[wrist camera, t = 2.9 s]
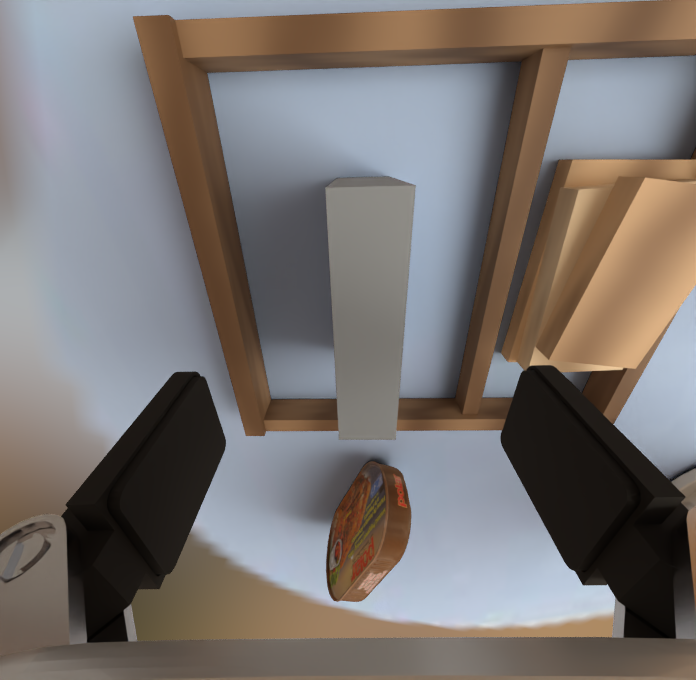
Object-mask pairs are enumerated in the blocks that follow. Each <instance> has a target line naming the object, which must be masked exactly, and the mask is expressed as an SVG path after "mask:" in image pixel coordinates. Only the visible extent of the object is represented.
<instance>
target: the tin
mask: <svg viewBox="0 0 696 680" xmlns="http://www.w3.org/2000/svg"><path fill="white" fill-rule="evenodd" d="M410 527H411V507H410V503H409V498H408V492H407V488H406V484H405V481H404V477H403V475H402V473H401V472H400V471H399V470H398V469H396V468H394V467H392V466H387V465H383V464H378V463H377V462H375V461H370V462H368V463H367V464H365V465H364V466H363V468H362V469H361V471H360V473H359V474H358V476H357V478H356V479H355V481H354V482H353V484H352V486H351V487H350V489H349V490H348V492H347V494H346V495H345V497H344V498H343V500H342V502H341V503H340V505H339V506H338V508H337V510H336V512H335V515H334V518H333V521H332V524H331V528H330V534H329V540H328V547H327V559H326V574H327V586H328V590H329V594H330V596H331V598H332V599H333V600H334V601H337V602H338V601H341V600H342V601H351V602H359V601H362V600H364V599H365V598H366V597H367V596H368V595H369V594H370V593H371V592H372V590H373V589H374V588H375V587H376V586H377V585H378V584H379V583H380V582H381V581H382V579H383V578H384V577H385V576H386V575H387V574H388V573H389V572H390V571H391V570H392V568H393V567H394V566H395V565H396V564H397V563H398V562H399V561H400V559H401V558H402V556H403V554H404V552H405V549H406V546H407V543H408V539H409V534H410Z"/></svg>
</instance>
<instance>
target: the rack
mask: <svg viewBox="0 0 696 680" xmlns="http://www.w3.org/2000/svg"><path fill="white" fill-rule="evenodd" d="M133 20H134V23H135V27H136V31H137V34H138V38H139V42H140V46H141V49H142V53H143V57H144V60H145V64H146V68H147V71H148V75H149V79H150V83H151V86H152V90H153V94H154V97H155V101H156V105H157V109H158V112H159V116H160V120H161V123H162V127H163V131H164V134H165V138H166V142H167V146H168V149H169V153H170V157H171V160H172V164H173V168H174V171H175V175H176V179H177V183H178V186H179V190H180V194H181V197H182V201H183V205H184V208H185V212H186V216H187V220H188V223H189V227H190V231H191V234H192V238H193V242H194V245H195V249H196V253H197V257H198V260H199V264H200V268H201V271H202V275H203V279H204V282H205V286H206V290H207V294H208V297H209V301H210V305H211V308H212V312H213V316H214V319H215V323H216V327H217V331H218V334H219V338H220V342H221V345H222V349H223V353H224V356H225V360H226V364H227V368H228V371H229V375H230V379H231V382H232V386H233V390H234V393H235V397H236V401H237V405H238V408H239V412H240V416H241V419H242V423H243V427H244V430H245V434H246V436H265V433H266V431H339V430H338V411H337V399H271V397H270V392H269V387H268V382H267V376H266V371H265V366H264V361H263V356H262V351H261V346H260V341H259V336H258V330H257V325H256V320H255V315H254V310H253V305H252V300H251V295H250V290H249V284H248V279H247V274H246V269H245V264H244V259H243V254H242V249H241V243H240V238H239V233H238V228H237V223H236V218H235V213H234V208H233V203H232V197H231V192H230V187H229V182H228V177H227V172H226V167H225V162H224V157H223V151H222V146H221V141H220V136H219V131H218V126H217V121H216V116H215V111H214V105H213V100H212V95H211V90H210V85H209V80H208V75H207V73H216V72H244V71H272V70H300V69H328V68H356V67H384V66H412V65H439V64H467V63H495V62H522V63H521V68H520V73H519V78H518V83H517V88H516V93H515V98H514V103H513V108H512V114H511V119H510V124H509V129H508V134H507V139H506V144H505V149H504V154H503V159H502V164H501V169H500V174H499V179H498V184H497V189H496V194H495V199H494V204H493V209H492V215H491V220H490V225H489V230H488V235H487V240H486V245H485V250H484V255H483V260H482V265H481V270H480V275H479V280H478V285H477V290H476V295H475V300H474V305H473V310H472V316H471V321H470V326H469V331H468V336H467V341H466V346H465V351H464V356H463V361H462V366H461V371H460V376H459V381H458V386H457V391H456V396H455V398H414V399H399V404H398V416H397V429H396V431H424V430H503V427H504V424H505V420H506V417H507V414H508V411H509V408H510V405H511V402H512V399H513V398H482V395H483V391H484V387H485V383H486V379H487V375H488V372H489V368H490V364H491V360H492V356H493V352H494V348H495V344H496V340H497V336H498V332H499V328H500V324H501V321H502V317H503V313H504V309H505V305H506V301H507V297H508V293H509V289H510V285H511V281H512V277H513V273H514V270H515V266H516V262H517V258H518V254H519V250H520V246H521V242H522V238H523V234H524V230H525V226H526V222H527V218H528V215H529V211H530V207H531V203H532V199H533V195H534V191H535V187H536V183H537V179H538V175H539V171H540V167H541V164H542V160H543V156H544V152H545V148H546V144H547V140H548V136H549V132H550V128H551V124H552V120H553V116H554V113H555V109H556V105H557V101H558V97H559V93H560V89H561V85H562V81H563V77H564V73H565V69H566V65H567V61H568V60H579V59H607V58H635V57H662V56H690V55H696V0H657V1H633V2H608V3H584V4H559V5H535V6H510V7H485V8H461V9H436V10H412V11H387V12H363V13H338V14H313V15H289V16H264V17H240V18H215V19H190V20H174V19H173V18H172V17H171V16H169V15H158V16H134V17H133ZM690 160H696V148H695V151H694V153H693V155H692V157H691V159H690ZM679 308H680V307H679ZM678 310H679V309H678ZM678 310H677V311H678ZM676 313H677V312H676ZM676 313H675V314H674V316H673V317H672V319H671V320H670V321H669V323H668V324H667V326H666V327H665V328H664V330H663V331H662V333H661V334H660V335H659V337H658V338H657V340H656V341H655V342H654V344H653V345H652V347H651V348H650V349H649V351H648V352H647V354H646V355H645V356H644V358H643V359H642V361H641V362H640V363H639V365H638V366H637V368H636V369H632V368H623V370H604V371H592V373H591V375H590V377H589V379H588V381H587V383H586V386H585V388H584V390H583V392H582V394H583V395H584V396H585V397H586V398H587V399H588V400H589V401H590V402H591V403H592V404H593V405H594V406H595V407H596V408H597V409H598V410H599V411H600V412H601V413H602V414H603V415H604V416H605V417H606V418H607V419H608V420H609V421H610V422H611V423H612V424H614V422H615V421H616V419H617V417H618V415H619V414H620V412H621V410H622V408H623V407H624V405H625V403H626V401H627V399H628V398H629V396H630V394H631V392H632V391H633V389H634V387H635V385H636V384H637V382H638V380H639V378H640V377H641V375H642V373H643V371H644V369H645V368H646V366H647V364H648V362H649V361H650V359H651V357H652V355H653V354H654V352H655V350H656V348H657V347H658V345H659V343H660V341H661V340H662V338H663V336H664V334H665V332H666V331H667V329H668V327H669V325H670V324H671V322H672V320H673V318H674V317H675V315H676Z"/></svg>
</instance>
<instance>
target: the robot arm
mask: <svg viewBox="0 0 696 680" xmlns="http://www.w3.org/2000/svg"><path fill="white" fill-rule="evenodd" d="M501 444H502V447H503V449H504V451H505V452H506V454H507V456H508V458H509V460H510V462H511V464H512V465H513V467H514V469H515V471H516V473H517V475H518V477H519V478H520V480H521V482H522V484H523V486H524V488H525V489H526V491H527V493H528V495H529V497H530V499H531V501H532V502H533V504H534V506H535V508H536V510H537V512H538V514H539V515H540V517H541V519H542V521H543V523H544V525H545V527H546V528H547V530H548V532H549V534H550V536H551V538H552V540H553V541H554V543H555V545H556V547H557V549H558V551H559V553H560V554H561V556H562V558H563V560H564V562H565V563H566V565H567V566H568V567H569V568H570V569H571V570H574V571H575V572H576V574H577V575H578V577H579V579H580V581H581V583H582V584H583V585H607V584H608V586H609V587H610V589H611V591H612V592H613V594H614V596H615V609H614V623H613V635H612V637H611V638H609V637H608V638H607V637H545V638H544V637H530V638H529V637H509V638H508V637H505V638H504V637H503V638H502V637H497V638H496V637H495V638H494V637H490V638H489V637H488V638H486V637H481V638H479V637H476V638H475V637H464V638H463V637H462V638H315V639H313V638H312V639H311V638H310V639H228V640H226V639H225V640H224V639H223V640H163V641H162V640H161V641H137V638H136V632H135V626H134V620H133V615H132V609H131V602H132V600H133V598H134V596H135V594H136V592H137V590H138V589H160V587H161V584H162V582H163V580H164V577H165V575H167V574H170V573H171V572H172V570H173V569H174V567H175V565H176V563H177V560H178V558H179V556H180V554H181V551H182V549H183V547H184V544H185V542H186V540H187V537H188V535H189V533H190V530H191V528H192V526H193V523H194V521H195V519H196V516H197V514H198V512H199V509H200V507H201V505H202V502H203V500H204V498H205V495H206V493H207V491H208V488H209V486H210V484H211V481H212V479H213V477H214V474H215V472H216V470H217V467H218V465H219V463H220V460H221V458H222V456H223V453H224V451H225V447H226V439H225V436H224V433H223V430H222V427H221V424H220V421H219V418H218V415H217V412H216V409H215V406H214V402H213V399H212V396H211V393H210V390H209V387H208V384H207V381H206V379H205V378H204V377H203V376H200V374H199V373H198V372H176V373H174V374H173V375H172V376H171V377H170V378H169V380H168V381H167V382H166V383H165V384H164V386H163V387H162V388H161V389H160V391H159V392H158V393H157V394H156V395H155V397H154V398H153V399H152V400H151V401H150V403H149V404H148V405H147V406H146V408H145V409H144V410H143V411H142V412H141V414H140V415H139V416H138V417H137V418H136V420H135V421H134V422H133V423H132V425H131V426H130V427H129V428H128V429H127V431H126V432H125V433H124V434H123V435H122V437H121V438H120V439H119V440H118V442H117V443H116V444H115V445H114V446H113V448H112V449H111V450H110V451H109V452H108V454H107V455H106V456H105V457H104V459H103V460H102V461H101V462H100V463H99V465H98V466H97V467H96V468H95V470H94V471H93V472H92V473H91V474H90V476H89V477H88V478H87V479H86V480H85V482H84V483H83V484H82V485H81V487H80V488H79V489H78V490H77V491H76V493H75V494H74V495H73V496H72V497H71V499H70V500H69V501H68V502H67V504H66V506H67V507H68V509H67V510H66V511H65V512H64V513H63V515H62V516H61V517H60V516H59V515H57V514H44V515H39V516H34V517H32V518H29V519H27V520H24V521H22V522H20V523H18V524H16V525H14V526H13V527H11V528H9V529H8V530H6V531H4V532H3V533H2V534H0V680H696V468H695V469H692V470H690V471H688V472H687V473H685V474H683V475H681V476H679V477H678V478H676V479H675V480H673V481H671V482H670V481H669V480H668V479H667V478H666V477H665V476H664V475H663V474H662V473H661V472H660V471H659V470H658V469H657V468H656V467H655V466H654V465H653V464H652V463H651V462H650V461H649V460H648V459H647V458H646V457H645V456H644V455H643V454H642V453H641V452H640V451H639V450H638V449H637V448H636V447H635V446H634V445H633V444H632V443H631V442H630V441H629V440H628V439H627V438H626V437H625V436H624V435H623V434H622V433H621V432H620V431H619V430H618V429H617V428H616V427H615V426H614V425H613V424H612V423H611V422H610V421H609V420H608V419H607V418H606V417H605V416H604V415H603V414H602V413H601V412H600V411H599V410H598V409H597V408H596V407H595V406H594V405H593V404H592V403H591V402H590V401H589V400H588V399H587V398H586V397H585V396H584V395H583V394H582V393H581V392H580V391H579V390H578V389H577V388H576V387H575V386H574V385H573V384H572V383H571V382H570V381H569V380H568V379H567V378H566V377H565V376H564V375H563V374H562V373H561V372H560V371H559V370H558V369H557V368H556V367H554V366H552V365H532V366H529V367H528V368H527V370H526V371H523V372H522V373H521V375H520V378H519V381H518V384H517V387H516V390H515V393H514V396H513V399H512V402H511V405H510V408H509V411H508V414H507V417H506V420H505V424H504V427H503V430H502V433H501Z"/></svg>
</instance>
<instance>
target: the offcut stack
mask: <svg viewBox="0 0 696 680" xmlns="http://www.w3.org/2000/svg"><path fill="white" fill-rule="evenodd" d="M695 285H696V160H559V162H558V165H557V168H556V172H555V175H554V178H553V182H552V185H551V188H550V192H549V195H548V198H547V202H546V205H545V208H544V212H543V215H542V218H541V222H540V225H539V228H538V232H537V235H536V238H535V242H534V245H533V248H532V252H531V255H530V258H529V262H528V265H527V268H526V272H525V275H524V278H523V282H522V285H521V288H520V292H519V295H518V298H517V302H516V305H515V308H514V312H513V315H512V318H511V322H510V325H509V328H508V332H507V335H506V338H505V342H504V345H503V348H502V352H501V354H502V355H503V356H504V358H505V359H506V360H507V361H508V362H518V363H519V365H520V366H521V367H522V368H523V369H524V371H526V370H527V368H528V367H529V366H532V365H552V366H554V367H556V368H557V369H558V370H559V371H560V372H581V371H604V370H623V368H632V369H636V368H637V366H638V365H639V363H640V362H641V361H642V359H643V358H644V356H645V355H646V354H647V352H648V351H649V349H650V348H651V347H652V345H653V344H654V342H655V341H656V340H657V338H658V337H659V335H660V334H661V333H662V331H663V330H664V328H665V327H666V326H667V324H668V323H669V321H670V320H671V319H672V317H673V316H674V314H675V313H676V312H677V310H678V309H679V307H680V306H681V305H682V303H683V302H684V300H685V299H686V298H687V296H688V295H689V293H690V292H691V291H692V289H693V288H694V286H695Z"/></svg>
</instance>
